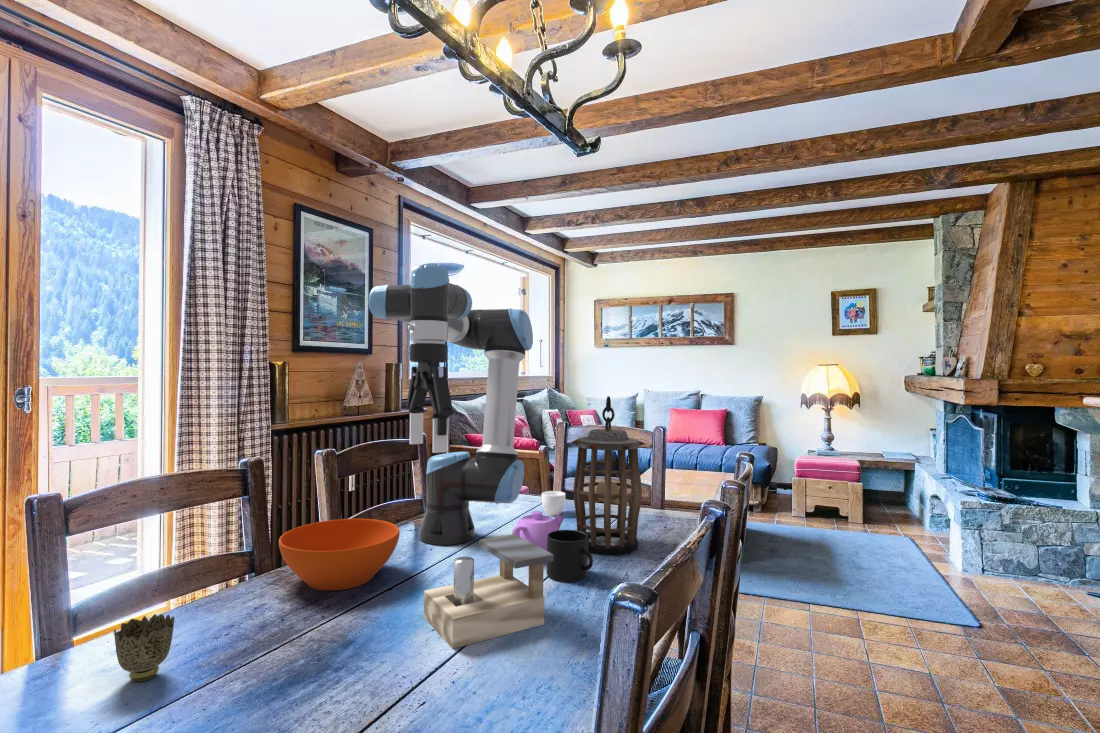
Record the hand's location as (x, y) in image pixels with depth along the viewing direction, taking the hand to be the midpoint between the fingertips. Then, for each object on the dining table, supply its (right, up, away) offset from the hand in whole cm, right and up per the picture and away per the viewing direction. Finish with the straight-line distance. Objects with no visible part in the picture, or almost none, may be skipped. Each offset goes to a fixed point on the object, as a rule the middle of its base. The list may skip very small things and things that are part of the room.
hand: (427, 448), depth 115 cm
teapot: (+22, -31, +30) cm, 49 cm away
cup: (+26, -32, +70) cm, 81 cm away
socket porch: (+12, -31, -9) cm, 34 cm away
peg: (+9, -31, -11) cm, 34 cm away
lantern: (+40, -32, +37) cm, 63 cm away
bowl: (-22, -31, +11) cm, 39 cm away
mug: (+30, -31, +14) cm, 45 cm away
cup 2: (-36, -30, -30) cm, 56 cm away
